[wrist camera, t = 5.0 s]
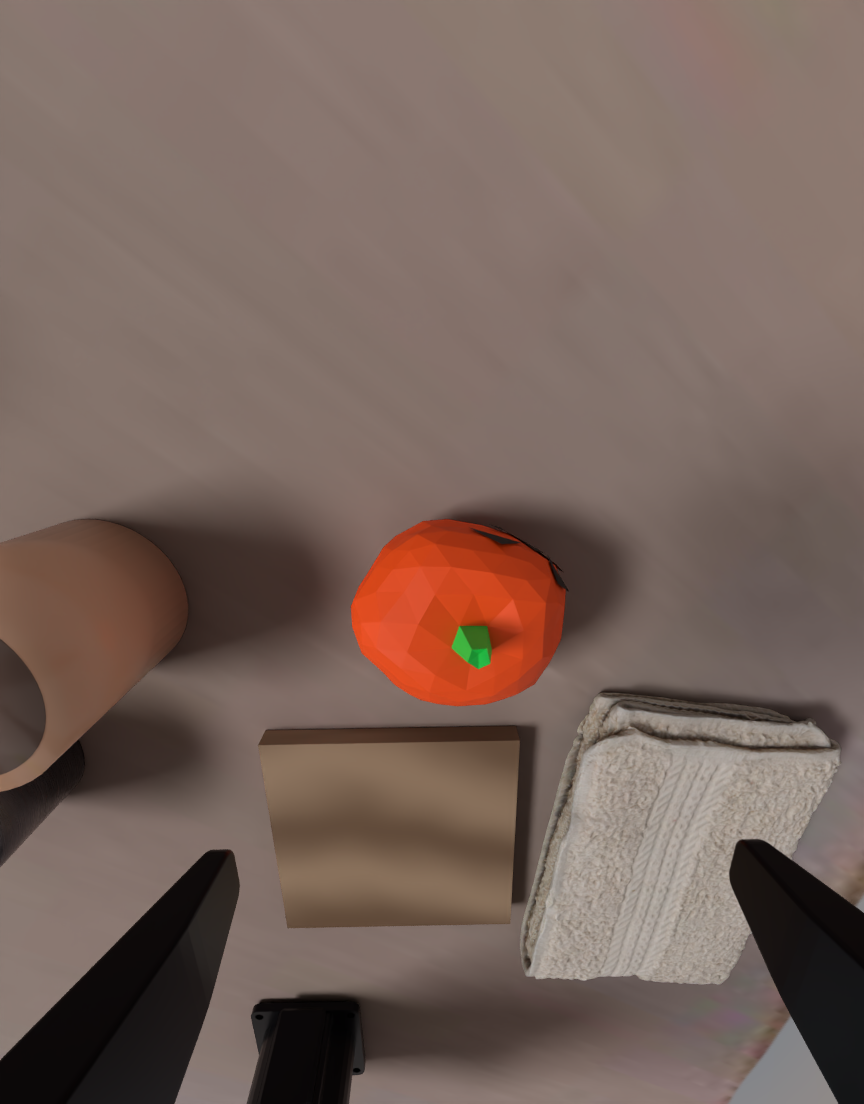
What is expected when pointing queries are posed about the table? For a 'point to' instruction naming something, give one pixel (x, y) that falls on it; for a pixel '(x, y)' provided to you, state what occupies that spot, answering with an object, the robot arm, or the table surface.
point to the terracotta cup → (77, 634)
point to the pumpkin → (460, 613)
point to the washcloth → (665, 835)
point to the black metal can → (37, 800)
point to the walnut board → (393, 824)
